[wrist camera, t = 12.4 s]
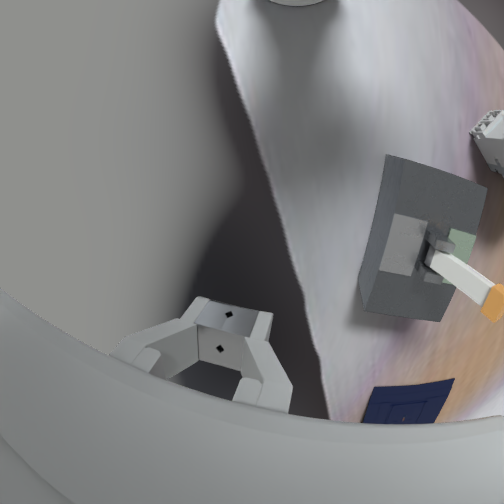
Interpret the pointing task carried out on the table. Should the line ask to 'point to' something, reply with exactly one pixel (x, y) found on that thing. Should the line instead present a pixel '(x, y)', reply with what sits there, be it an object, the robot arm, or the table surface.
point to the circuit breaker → (491, 139)
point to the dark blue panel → (407, 403)
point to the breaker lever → (468, 282)
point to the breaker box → (417, 238)
